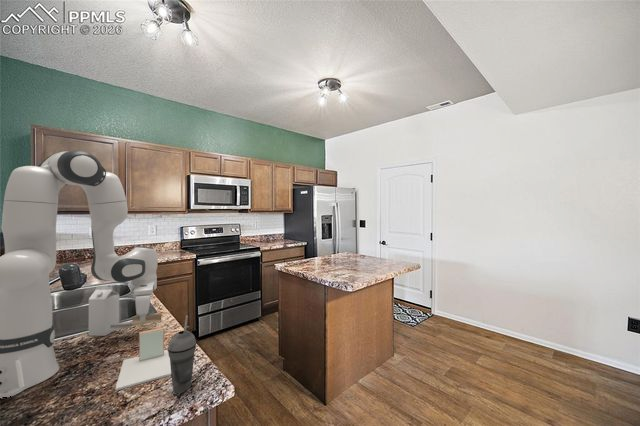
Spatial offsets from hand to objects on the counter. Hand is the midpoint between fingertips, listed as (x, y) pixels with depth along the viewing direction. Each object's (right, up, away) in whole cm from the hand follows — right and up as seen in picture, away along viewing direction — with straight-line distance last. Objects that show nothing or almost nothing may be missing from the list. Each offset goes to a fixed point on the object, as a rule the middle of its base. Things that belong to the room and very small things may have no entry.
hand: (142, 319), depth 107 cm
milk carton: (-17, -6, +2) cm, 19 cm away
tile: (+16, -1, -19) cm, 25 cm away
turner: (-2, -2, -1) cm, 3 cm away
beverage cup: (+34, -6, -33) cm, 48 cm away
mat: (+18, -6, -24) cm, 30 cm away
